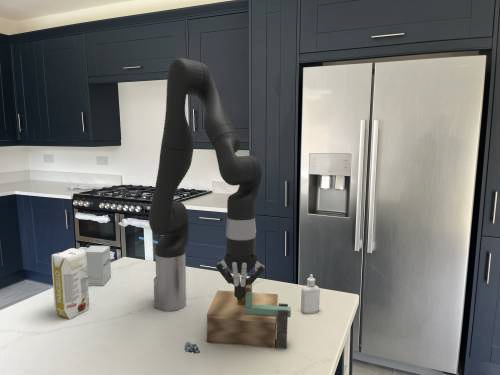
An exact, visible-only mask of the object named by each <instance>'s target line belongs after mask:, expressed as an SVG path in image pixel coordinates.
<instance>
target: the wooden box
mask: <svg viewBox="0 0 500 375" xmlns="http://www.w3.org/2000/svg"><path fill="white" fill-rule="evenodd" d="M278 301H279V299H278V300H277V306H284V307H289V303H280V302H278ZM288 318H289V317H288V310H281V309H278V316H276V323H271V322H257V321H244V320H230V319H217V318H207V317H206V342H207V343H213V344H223V345H224V344H225V345H234V346H235V345H236V346H247V347H262V348H272V349H275V348H276V349H285V350H287V348H288V347H287V343H288V321H289V320H288ZM276 326H277V327H276Z"/></svg>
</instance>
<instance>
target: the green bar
mask: <svg viewBox="0 0 500 375" xmlns="http://www.w3.org/2000/svg"><path fill="white" fill-rule="evenodd" d="M252 293H253V291H252V292H246V304H245V314H253V315H267V316H278V309H281V310H288V318H291V315H292V312H291V311H292V308H291V306H288V307H284V306H278V305H277V306H269V305H255V304H252Z"/></svg>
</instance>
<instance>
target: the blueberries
mask: <svg viewBox="0 0 500 375" xmlns="http://www.w3.org/2000/svg"><path fill="white" fill-rule="evenodd" d="M202 344H203V343H201V345H202ZM183 351H185V352H187V353H191V354H199V353H201V351H200V349H199V347H198V344H196V343H191V342H190V341H188V342H186V343H185V346H184V349H183Z"/></svg>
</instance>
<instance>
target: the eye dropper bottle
mask: <svg viewBox="0 0 500 375" xmlns="http://www.w3.org/2000/svg"><path fill="white" fill-rule="evenodd" d="M320 289H321V288H320V287H319V286H318V285H316V278H314V277H313V274H309V277H308V278H307V279H306V285H304V286H302V288H301V293H300V311H301V313H303V314H308V315H309V314H315V313H318V312H319V310H320V298H321V297H320V295H321V294H320V292H321V290H320Z"/></svg>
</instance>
